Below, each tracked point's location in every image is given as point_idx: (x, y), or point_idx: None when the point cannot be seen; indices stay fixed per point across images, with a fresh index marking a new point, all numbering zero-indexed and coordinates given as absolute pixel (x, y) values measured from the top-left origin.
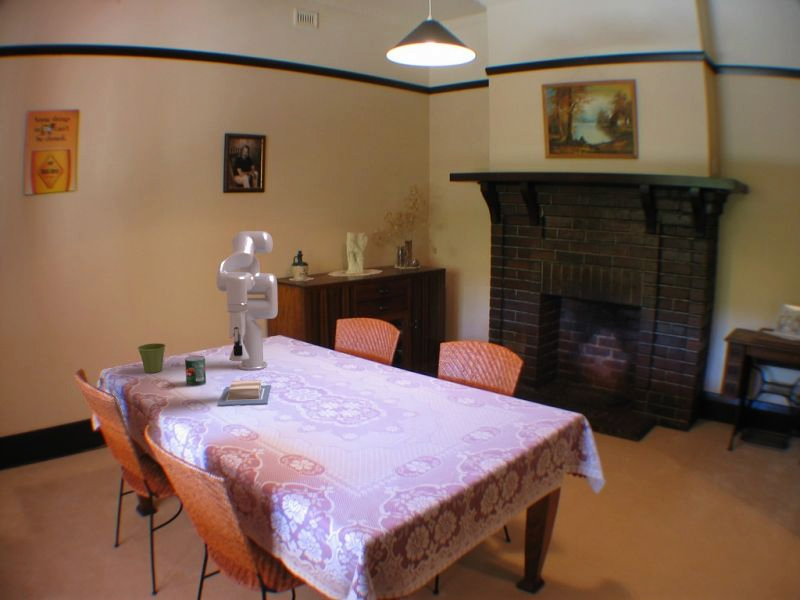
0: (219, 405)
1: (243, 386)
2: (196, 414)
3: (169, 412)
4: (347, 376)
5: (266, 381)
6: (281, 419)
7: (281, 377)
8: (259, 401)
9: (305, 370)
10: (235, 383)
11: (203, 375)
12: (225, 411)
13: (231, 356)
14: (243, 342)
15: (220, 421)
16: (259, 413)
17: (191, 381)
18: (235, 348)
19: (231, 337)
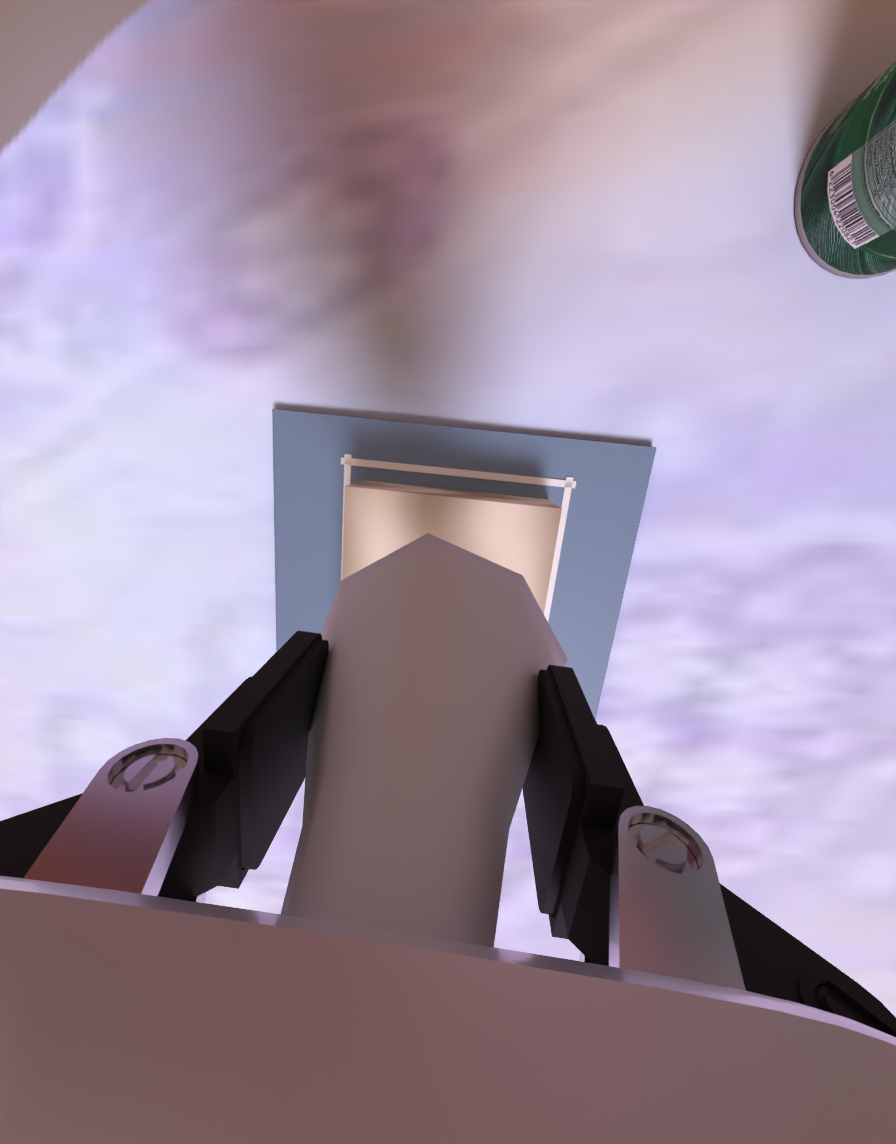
0: (275, 419)
1: None
2: (136, 272)
3: (180, 40)
4: None
5: (710, 699)
6: (66, 724)
7: (760, 780)
8: None
9: (846, 902)
10: (490, 531)
11: (887, 226)
12: (184, 459)
13: (390, 580)
14: (544, 912)
15: (24, 436)
16: (147, 636)
17: (844, 120)
18: (197, 730)
19: (123, 894)
